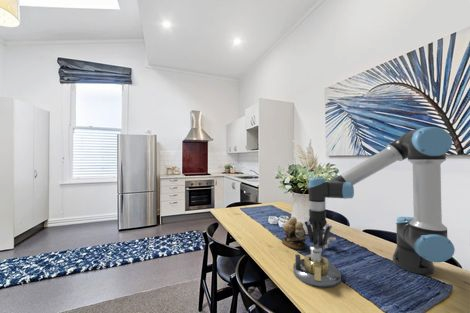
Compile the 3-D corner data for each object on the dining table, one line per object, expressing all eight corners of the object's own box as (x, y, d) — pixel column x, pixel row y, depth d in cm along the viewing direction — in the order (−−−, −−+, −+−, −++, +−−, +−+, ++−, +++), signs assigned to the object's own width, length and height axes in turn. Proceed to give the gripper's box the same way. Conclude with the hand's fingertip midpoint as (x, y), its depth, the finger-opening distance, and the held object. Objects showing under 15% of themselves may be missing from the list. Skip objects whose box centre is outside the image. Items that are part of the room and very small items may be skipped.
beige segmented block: (331, 282, 83) (330, 269, 83) (304, 278, 86) (304, 265, 86) (325, 259, 101) (325, 248, 101) (304, 257, 104) (304, 246, 104)
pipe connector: (338, 252, 114) (338, 234, 114) (319, 250, 116) (318, 233, 116) (333, 244, 123) (333, 228, 123) (315, 243, 125) (315, 227, 125)
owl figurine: (313, 248, 119) (313, 219, 119) (298, 253, 113) (298, 222, 113) (291, 237, 135) (290, 211, 135) (277, 241, 129) (276, 214, 129)
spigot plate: (349, 275, 91) (349, 248, 91) (325, 294, 79) (325, 263, 79) (309, 258, 107) (308, 235, 107) (284, 272, 95) (284, 246, 95)
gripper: (334, 210, 98) (335, 259, 98) (308, 206, 108) (309, 251, 107) (327, 213, 93) (328, 265, 93) (301, 208, 103) (302, 256, 102)
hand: (318, 258), depth 100 cm, fingers closed
